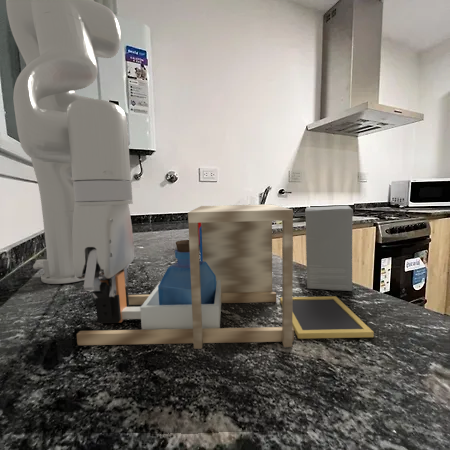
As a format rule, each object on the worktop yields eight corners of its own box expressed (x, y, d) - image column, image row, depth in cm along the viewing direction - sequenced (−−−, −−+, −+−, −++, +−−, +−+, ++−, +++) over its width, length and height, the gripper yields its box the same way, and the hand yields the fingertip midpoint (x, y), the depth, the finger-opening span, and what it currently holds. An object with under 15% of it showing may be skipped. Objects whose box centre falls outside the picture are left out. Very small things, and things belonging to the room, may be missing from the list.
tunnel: (193, 348, 32) (187, 212, 30) (204, 298, 47) (201, 206, 45) (292, 346, 32) (293, 209, 30) (271, 297, 47) (270, 204, 45)
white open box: (86, 337, 34) (81, 286, 34) (118, 304, 45) (115, 264, 44) (219, 334, 34) (217, 283, 33) (221, 302, 44) (220, 262, 43)
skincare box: (348, 281, 54) (350, 205, 52) (352, 294, 47) (355, 207, 45) (305, 278, 57) (306, 205, 55) (304, 289, 50) (305, 207, 48)
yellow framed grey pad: (298, 338, 33) (298, 333, 33) (280, 301, 45) (280, 297, 45) (373, 337, 33) (373, 332, 33) (335, 300, 45) (336, 296, 45)
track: (77, 345, 33) (76, 334, 33) (119, 303, 46) (118, 295, 46) (293, 341, 33) (294, 330, 33) (275, 300, 46) (275, 291, 45)
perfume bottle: (200, 334, 35) (197, 247, 33) (160, 328, 37) (155, 245, 35) (216, 314, 41) (214, 238, 39) (181, 309, 43) (178, 237, 41)
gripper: (104, 195, 45) (112, 296, 47) (37, 195, 29) (55, 349, 31) (147, 194, 45) (153, 295, 47) (104, 194, 29) (116, 347, 31)
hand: (114, 315), depth 39 cm, fingers closed on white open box, 2 cm apart
